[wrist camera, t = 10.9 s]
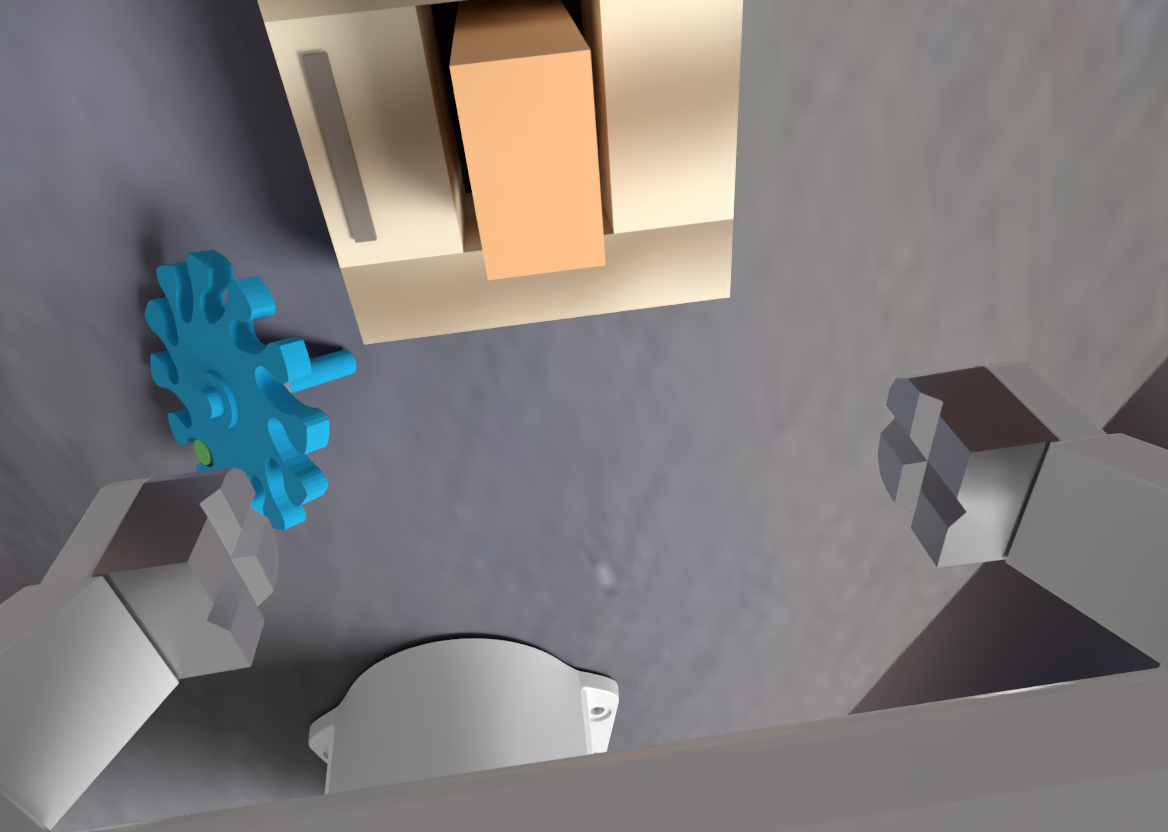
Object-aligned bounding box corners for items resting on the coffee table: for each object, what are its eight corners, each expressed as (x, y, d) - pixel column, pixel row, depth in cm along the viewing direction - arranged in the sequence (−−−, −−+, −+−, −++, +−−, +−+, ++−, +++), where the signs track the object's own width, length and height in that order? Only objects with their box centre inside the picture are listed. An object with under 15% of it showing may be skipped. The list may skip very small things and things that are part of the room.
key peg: (555, -9, 23) (590, 49, 16) (570, 153, 26) (606, 265, 19) (458, 2, 23) (449, 65, 15) (485, 163, 26) (487, 280, 18)
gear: (136, 191, 23) (320, 406, 21) (301, 179, 28) (470, 356, 25) (120, 421, 30) (257, 605, 27) (254, 382, 34) (384, 538, 32)
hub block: (694, 235, 28) (731, 300, 24) (380, 275, 28) (363, 347, 23) (698, -162, 21) (752, -168, 17) (272, -118, 20) (219, -113, 16)
